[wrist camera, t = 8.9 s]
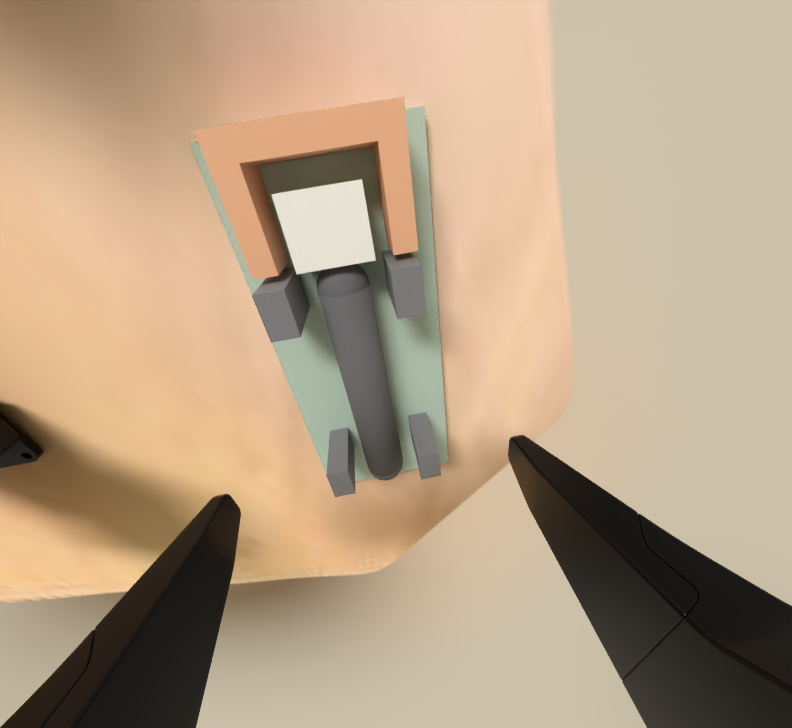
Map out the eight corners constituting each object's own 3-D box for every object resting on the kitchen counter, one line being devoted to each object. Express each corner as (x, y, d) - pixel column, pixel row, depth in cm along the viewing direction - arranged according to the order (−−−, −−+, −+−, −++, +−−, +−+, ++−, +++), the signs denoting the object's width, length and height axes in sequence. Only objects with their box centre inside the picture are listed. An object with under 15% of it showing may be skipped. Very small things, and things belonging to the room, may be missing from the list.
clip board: (331, 480, 23) (328, 533, 20) (195, 144, 12) (133, 132, 8) (446, 457, 23) (463, 504, 20) (421, 108, 12) (450, 82, 9)
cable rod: (364, 463, 22) (365, 492, 20) (283, 191, 13) (271, 194, 10) (407, 454, 22) (413, 482, 20) (359, 178, 13) (362, 179, 11)
